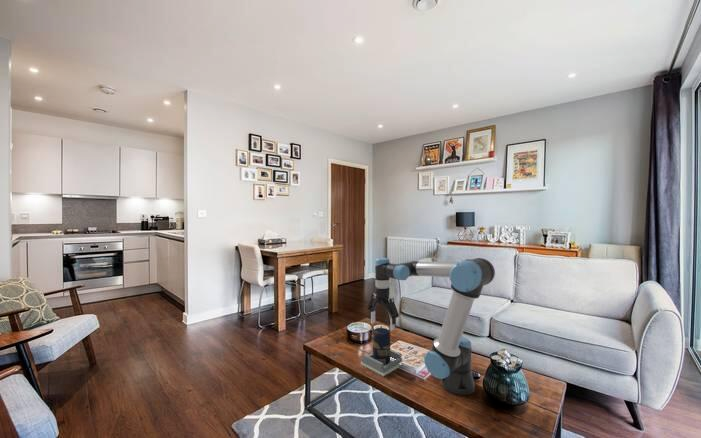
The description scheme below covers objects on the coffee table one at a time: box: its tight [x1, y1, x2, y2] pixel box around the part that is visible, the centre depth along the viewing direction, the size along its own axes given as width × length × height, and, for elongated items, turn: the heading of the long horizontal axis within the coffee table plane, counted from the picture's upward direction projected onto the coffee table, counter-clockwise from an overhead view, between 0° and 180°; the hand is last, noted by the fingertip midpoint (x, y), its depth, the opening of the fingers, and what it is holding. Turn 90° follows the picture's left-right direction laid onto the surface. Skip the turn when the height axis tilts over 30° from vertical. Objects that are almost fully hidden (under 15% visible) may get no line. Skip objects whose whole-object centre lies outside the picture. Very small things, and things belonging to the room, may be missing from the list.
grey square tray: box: [360, 348, 403, 377], centre depth 157 cm, size 16×16×6 cm
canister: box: [372, 327, 391, 365], centre depth 157 cm, size 10×10×18 cm
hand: (382, 326), depth 157 cm, fingers open, 13 cm apart
